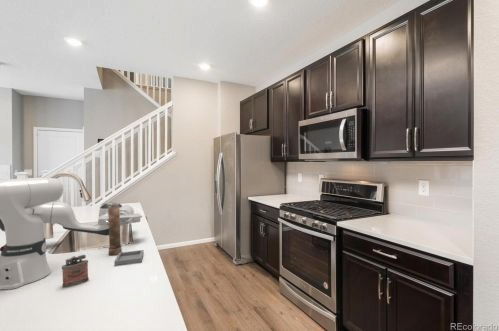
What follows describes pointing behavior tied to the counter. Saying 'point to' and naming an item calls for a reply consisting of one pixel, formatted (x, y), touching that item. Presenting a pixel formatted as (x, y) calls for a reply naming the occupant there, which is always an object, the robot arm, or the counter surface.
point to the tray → (129, 257)
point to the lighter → (75, 271)
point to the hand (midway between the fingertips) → (117, 222)
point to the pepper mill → (114, 230)
